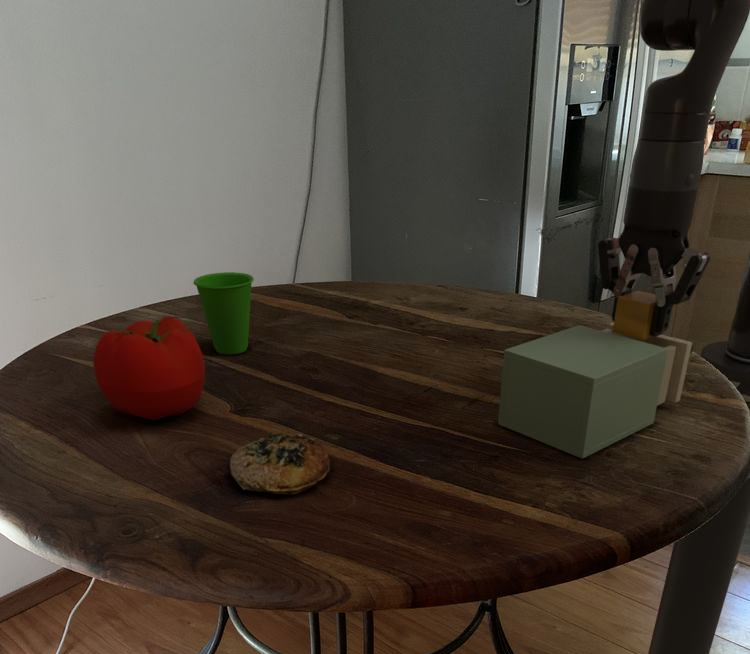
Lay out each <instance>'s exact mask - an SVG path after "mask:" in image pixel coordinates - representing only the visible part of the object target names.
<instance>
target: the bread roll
mask: <svg viewBox="0 0 750 654" xmlns="http://www.w3.org/2000/svg"><path fill="white" fill-rule="evenodd" d="M229 462H230V464H229V468H230V473H229V474H230V475H231V476H232V477H233V479H234V480H235V482H237V484H238V486H239V487H241V488H242V490H247V491H252V492H260V493H261V492H263V493H264V492H267V493H268V492H269V493H271V494H275V495H286V496H287V495H296V494H300V493H303V492H305V491H308V490H309V489H311V488H312V487H314V486H315V485H317V484H318V483H320V482H321V481H322V480H324V479H325V478H326V477H327V475H328V474H329V472H330V471H331V459H330V456H329V452H327V450H326V448H325V447H324V446H323V444H322V443H321V442H319V440H316V439H315V438H313V437H310V436H306V435H305V434H303V433H297V434H296V435H294V434H287V433H285V434H284V433H277V434H276V435H275V434H270V435H268V436H267V437H260V438H259V439H256V440H254V441H252V442H248V443H246V444H244V445H243V446H241V447H238V449H237V450H236V451H235V452H234V453H233V454H232V455H231V457H230V460H229Z"/></svg>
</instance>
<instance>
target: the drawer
mask: <svg viewBox="0 0 750 654" xmlns="http://www.w3.org/2000/svg"><path fill="white" fill-rule="evenodd" d="M613 326H614V321H612V322H610V323H608V325H607V328H605V329H601V330H600V331H604V332H607V333H611V334H615V335H619V336H622V337H626V338H630V339H634V340H637V341H641V342H645V343H649V344H652V345H656V346H660V347H664V348H667V349H668V352H667V358H666V363H665V368H664V373H663V378H662V383H661V388H660V393H659V398H658V403H657V407H658V406H659V405H662V404H664V403H665V402H667V401H668V402H671V403H674V404H676V403H678V402H680V401H681V398H682V393H683V388H684V384H685V379H686V374H687V370H688V365H689V360H690V355H691V354H693V351H694V344H693V342H692V341H688V340H686V339H685V340H684V339H682V338H681V339H680V338H678V337H677V338H676V337H672V336H668V335H665V334H661V335H659V336H656V337H654V336H652V337H649V338H647V339H644V340H642V339H638V338H634V337H631V336H627V335H623V334H619V333H615V332H613Z"/></svg>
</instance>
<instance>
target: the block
mask: <svg viewBox="0 0 750 654" xmlns="http://www.w3.org/2000/svg"><path fill="white" fill-rule="evenodd" d="M654 306H657V304H656V297H655V293H650V292H645V291H640V290H637V291H632V292H631V293H629V294H626V295H623V296H620V297H618V300H617V307H616V313H615V319H614V321H613V322H614V326H613V332H615V333H619V334H623V335H627V336H631V337H634V338H638V339H642V340H644V339H647V338H649V337H652V336H651V335H650V334H649V333H650V327H651V322H652V316H653V311H654Z"/></svg>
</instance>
